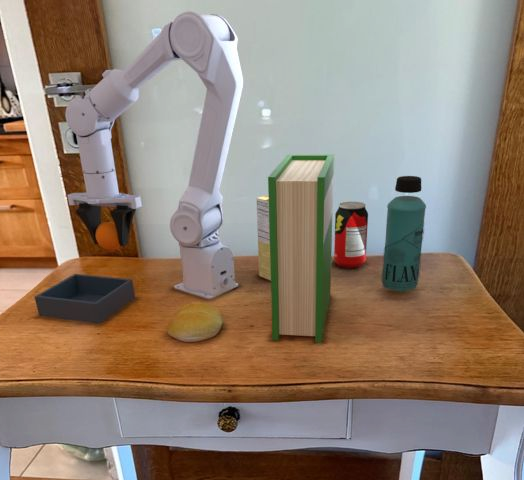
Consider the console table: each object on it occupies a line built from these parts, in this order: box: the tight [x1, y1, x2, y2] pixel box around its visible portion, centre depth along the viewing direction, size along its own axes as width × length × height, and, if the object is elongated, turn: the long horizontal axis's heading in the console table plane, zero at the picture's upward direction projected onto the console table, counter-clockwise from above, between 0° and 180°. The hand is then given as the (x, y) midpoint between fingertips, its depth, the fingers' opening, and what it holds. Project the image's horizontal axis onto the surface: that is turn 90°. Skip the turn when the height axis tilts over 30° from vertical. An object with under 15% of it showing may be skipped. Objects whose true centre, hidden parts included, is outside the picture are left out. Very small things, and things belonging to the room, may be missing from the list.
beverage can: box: [333, 201, 369, 269], centre depth 109 cm, size 6×6×12 cm
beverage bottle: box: [380, 175, 427, 292], centre depth 94 cm, size 6×7×20 cm
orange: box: [96, 219, 121, 251], centre depth 106 cm, size 5×5×6 cm
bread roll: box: [166, 301, 224, 343], centre depth 86 cm, size 8×9×4 cm
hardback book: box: [267, 154, 335, 343], centre depth 85 cm, size 18×7×24 cm, turn 170°
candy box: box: [256, 194, 271, 282], centre depth 105 cm, size 9×4×15 cm, turn 129°
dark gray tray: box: [34, 273, 136, 325], centre depth 96 cm, size 12×11×4 cm
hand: (111, 243), depth 106 cm, fingers closed on orange, 5 cm apart
